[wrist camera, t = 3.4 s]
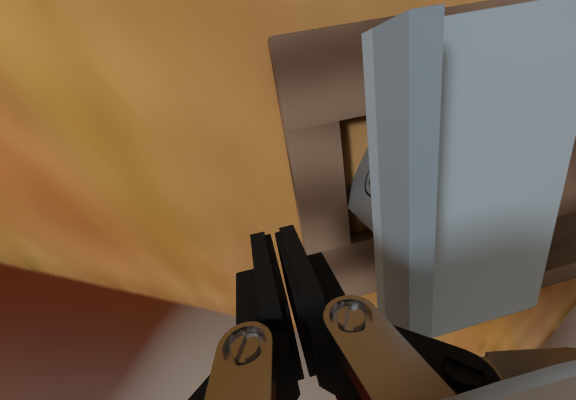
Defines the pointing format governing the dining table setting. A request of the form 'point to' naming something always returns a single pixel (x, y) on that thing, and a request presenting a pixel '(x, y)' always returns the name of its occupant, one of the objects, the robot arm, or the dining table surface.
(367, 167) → the dice cube
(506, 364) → the robot arm
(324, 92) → the game box
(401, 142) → the sliding lid
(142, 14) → the dining table surface
